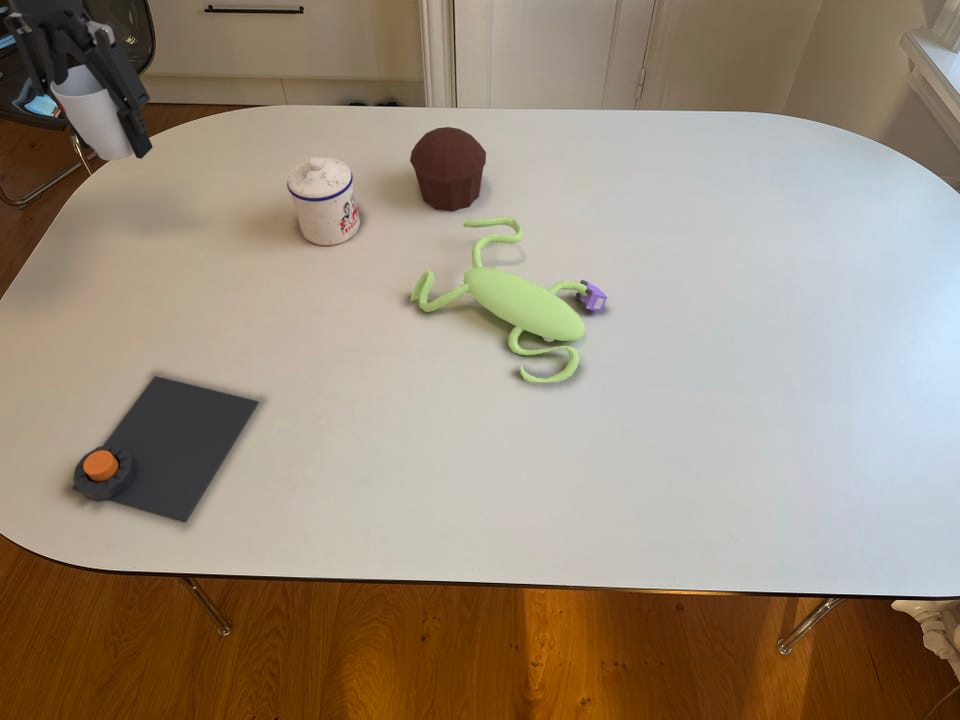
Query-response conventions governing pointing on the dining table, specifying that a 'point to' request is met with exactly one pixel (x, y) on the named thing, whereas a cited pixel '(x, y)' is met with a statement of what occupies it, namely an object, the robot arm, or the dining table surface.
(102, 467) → the button
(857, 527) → the dining table surface
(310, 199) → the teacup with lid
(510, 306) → the figurine
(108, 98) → the cup
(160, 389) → the dark grey flat slab
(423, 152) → the muffin
